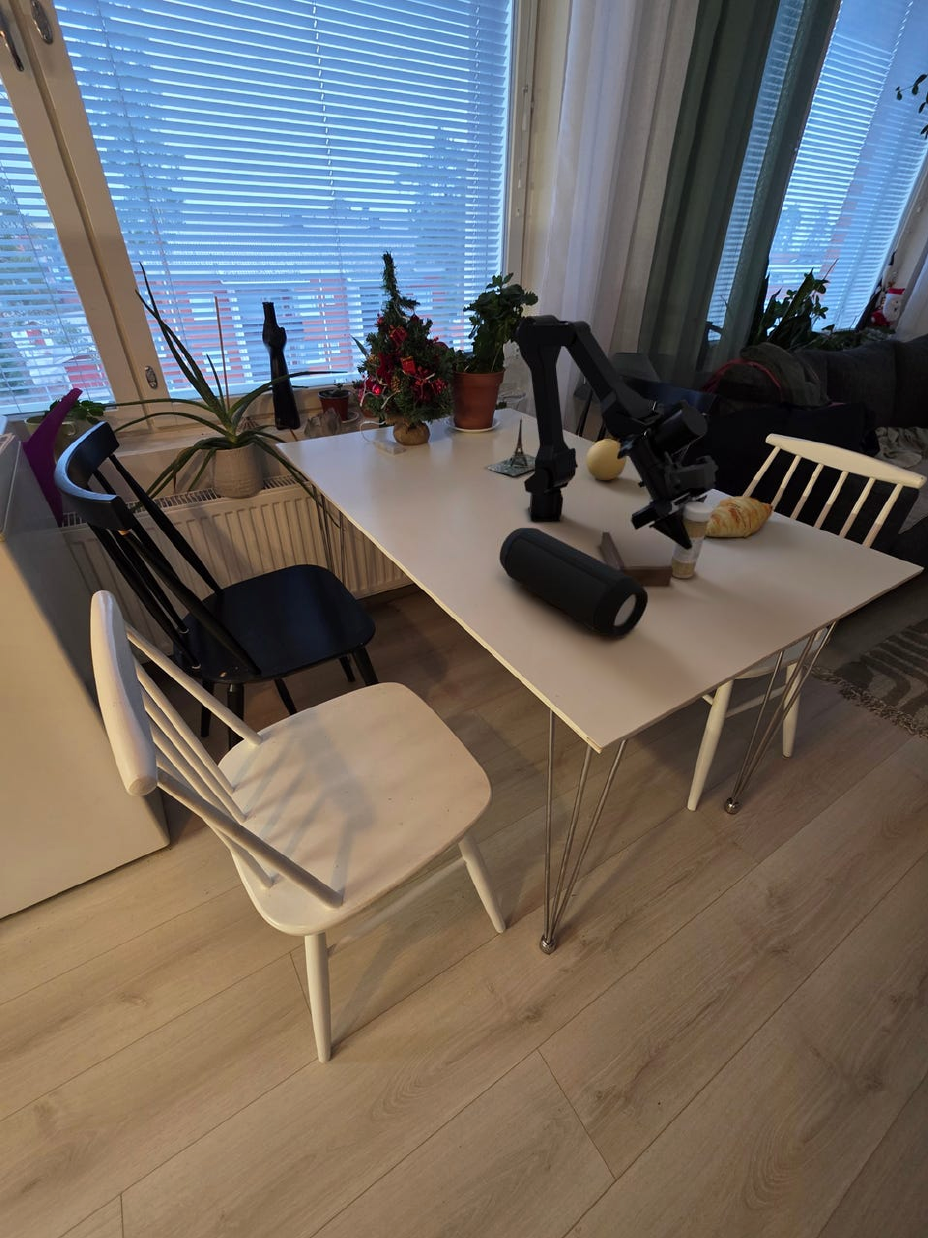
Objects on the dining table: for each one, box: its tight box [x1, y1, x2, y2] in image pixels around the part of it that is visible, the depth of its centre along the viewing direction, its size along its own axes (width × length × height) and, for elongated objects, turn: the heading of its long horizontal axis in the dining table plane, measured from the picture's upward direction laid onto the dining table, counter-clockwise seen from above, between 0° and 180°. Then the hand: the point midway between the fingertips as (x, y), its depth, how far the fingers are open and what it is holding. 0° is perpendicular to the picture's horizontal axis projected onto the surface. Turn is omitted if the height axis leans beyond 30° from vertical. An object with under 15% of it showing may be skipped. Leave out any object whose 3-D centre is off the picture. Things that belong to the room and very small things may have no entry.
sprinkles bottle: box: [669, 502, 714, 579], centre depth 94 cm, size 5×5×13 cm
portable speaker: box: [499, 527, 649, 638], centre depth 87 cm, size 26×10×10 cm, turn 38°
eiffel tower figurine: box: [486, 418, 536, 477], centre depth 139 cm, size 15×10×13 cm
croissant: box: [705, 495, 774, 538], centre depth 111 cm, size 21×10×8 cm, turn 119°
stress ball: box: [585, 438, 627, 481], centre depth 133 cm, size 10×10×10 cm
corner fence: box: [599, 531, 673, 587], centre depth 99 cm, size 9×14×4 cm, turn 0°
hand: (696, 544), depth 93 cm, fingers closed on sprinkles bottle, 4 cm apart
